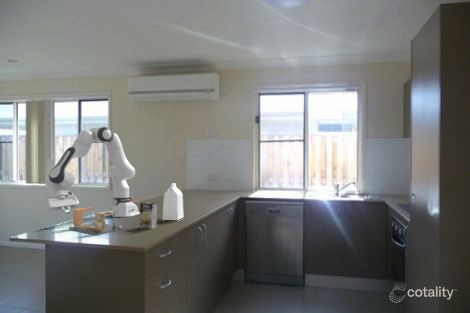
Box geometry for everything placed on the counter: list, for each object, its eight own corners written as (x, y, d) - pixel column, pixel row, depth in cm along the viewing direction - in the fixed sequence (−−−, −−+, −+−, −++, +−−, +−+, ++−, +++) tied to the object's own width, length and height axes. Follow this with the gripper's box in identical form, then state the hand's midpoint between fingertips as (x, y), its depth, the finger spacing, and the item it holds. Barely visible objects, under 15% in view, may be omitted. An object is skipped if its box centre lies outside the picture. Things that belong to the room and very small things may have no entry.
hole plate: (97, 223, 235) (97, 220, 235) (124, 229, 220) (125, 225, 220) (69, 229, 218) (69, 225, 218) (97, 235, 203) (97, 231, 203)
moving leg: (91, 222, 230) (91, 206, 230) (95, 222, 228) (95, 207, 228) (73, 225, 219) (73, 209, 219) (76, 226, 217) (76, 210, 217)
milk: (177, 221, 247) (178, 184, 247) (162, 220, 249) (162, 184, 249) (183, 218, 259) (183, 183, 258) (169, 217, 261) (169, 182, 261)
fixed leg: (91, 223, 230) (91, 207, 230) (117, 228, 216) (117, 211, 216) (73, 227, 219) (73, 209, 219) (99, 232, 205) (99, 214, 205)
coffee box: (139, 228, 224) (139, 203, 223) (144, 226, 230) (144, 201, 230) (152, 229, 221) (152, 203, 221) (157, 226, 227) (157, 202, 227)
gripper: (45, 195, 221) (53, 212, 215) (75, 192, 238) (83, 208, 232) (41, 201, 223) (49, 218, 218) (71, 198, 240) (79, 214, 235)
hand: (67, 213), depth 225 cm, fingers closed
